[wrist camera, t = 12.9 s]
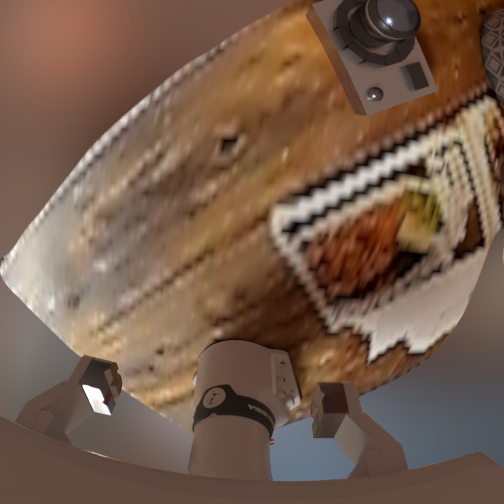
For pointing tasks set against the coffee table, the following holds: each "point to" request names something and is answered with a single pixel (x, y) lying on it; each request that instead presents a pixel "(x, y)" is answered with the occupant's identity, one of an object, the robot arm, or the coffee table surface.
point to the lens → (385, 21)
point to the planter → (494, 50)
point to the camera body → (370, 61)
